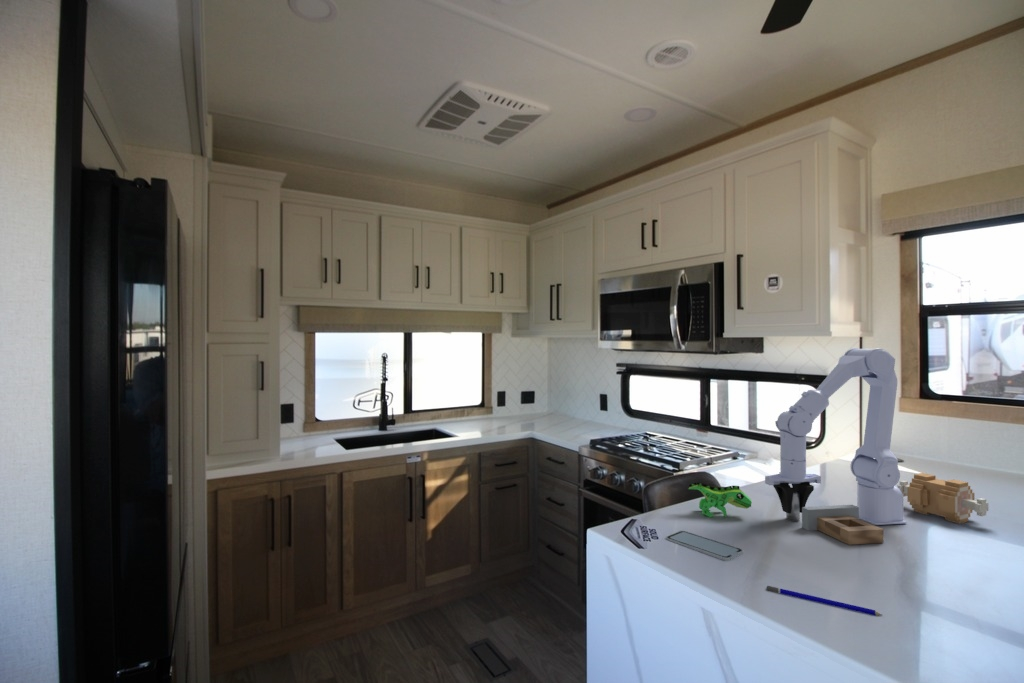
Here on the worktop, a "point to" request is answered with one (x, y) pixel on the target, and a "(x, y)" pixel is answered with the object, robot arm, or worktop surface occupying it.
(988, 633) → the worktop surface
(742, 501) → the toy
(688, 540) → the smartphone
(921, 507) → the voxel meat on bone
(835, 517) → the block
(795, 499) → the dowel
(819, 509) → the wall
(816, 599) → the pencil
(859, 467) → the robot arm
